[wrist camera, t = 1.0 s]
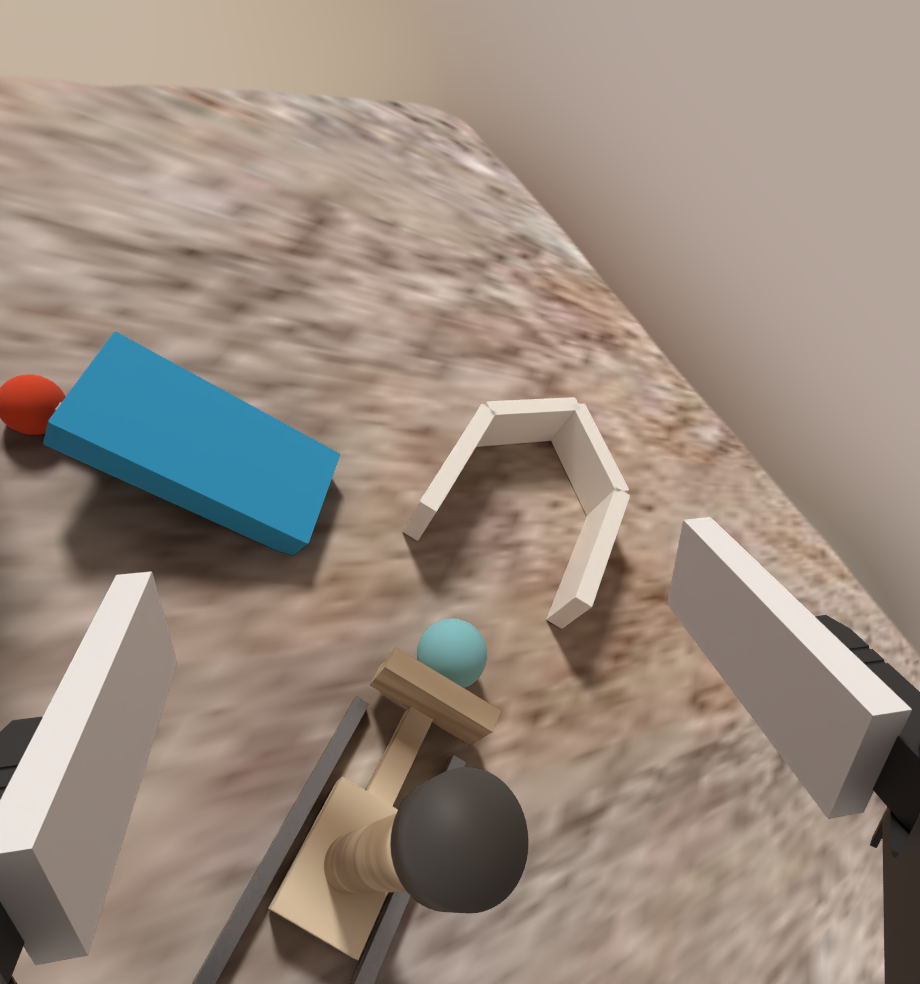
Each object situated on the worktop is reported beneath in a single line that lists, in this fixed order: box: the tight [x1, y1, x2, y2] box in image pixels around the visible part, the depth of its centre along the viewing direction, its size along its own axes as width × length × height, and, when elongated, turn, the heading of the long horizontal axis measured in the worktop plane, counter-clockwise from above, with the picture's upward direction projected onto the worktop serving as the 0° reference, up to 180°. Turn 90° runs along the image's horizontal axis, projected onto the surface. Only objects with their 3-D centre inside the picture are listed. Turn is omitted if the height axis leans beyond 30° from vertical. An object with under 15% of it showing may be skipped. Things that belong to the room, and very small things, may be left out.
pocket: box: [402, 397, 630, 629], centre depth 45 cm, size 16×12×4 cm
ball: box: [417, 619, 487, 688], centre depth 36 cm, size 4×4×4 cm
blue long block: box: [0, 332, 340, 555], centre depth 37 cm, size 7×7×18 cm
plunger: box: [268, 648, 528, 960], centre depth 25 cm, size 12×6×17 cm, turn 155°
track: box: [192, 696, 466, 984], centre depth 29 cm, size 18×7×1 cm, turn 155°
